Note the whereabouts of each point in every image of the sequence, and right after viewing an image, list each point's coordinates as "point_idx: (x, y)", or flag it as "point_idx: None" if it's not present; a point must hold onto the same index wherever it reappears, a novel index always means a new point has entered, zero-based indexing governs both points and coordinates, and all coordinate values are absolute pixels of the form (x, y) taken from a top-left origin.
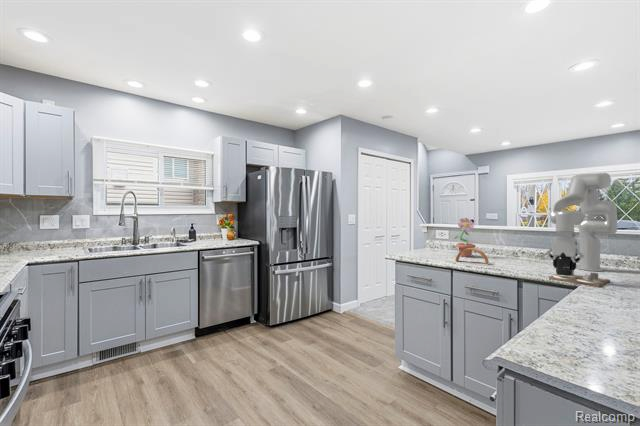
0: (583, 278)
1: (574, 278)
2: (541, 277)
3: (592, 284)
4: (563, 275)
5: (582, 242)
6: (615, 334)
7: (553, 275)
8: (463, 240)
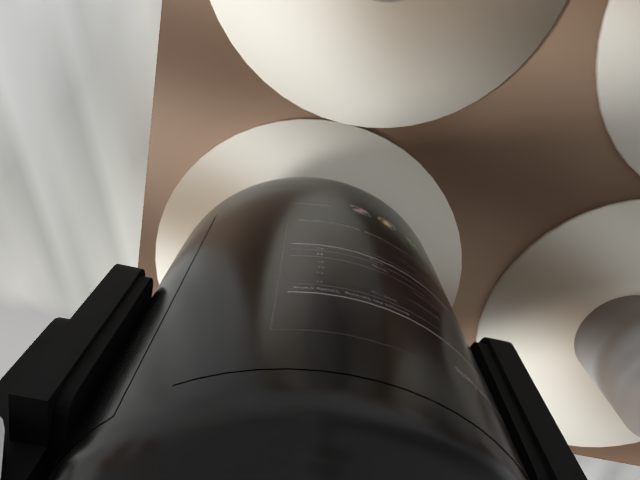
0: (593, 131)
1: (451, 279)
2: (28, 293)
3: (622, 456)
4: (284, 98)
5: None
6: None
7: (145, 203)
8: None
